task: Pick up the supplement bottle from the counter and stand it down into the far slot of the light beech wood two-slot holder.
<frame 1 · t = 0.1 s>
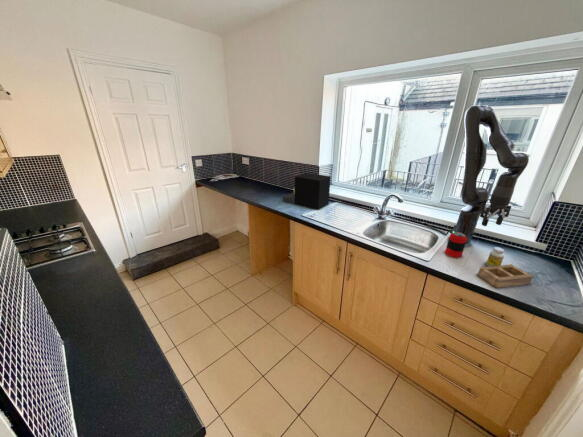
hand: (490, 225, 124), 17 cm above the counter, tool pointing down, fingers open, 8 cm apart
black squarish block: (305, 203, 207), on the counter
holder: (502, 279, 111), on the counter
supplement bottle: (492, 266, 121), on the counter
soda can: (452, 254, 131), on the counter
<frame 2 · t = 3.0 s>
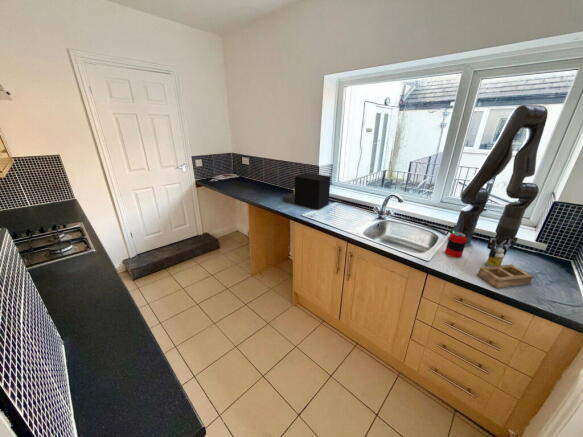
hand: (496, 256, 118), 5 cm above the counter, tool pointing down, fingers closed on supplement bottle, 5 cm apart
supplement bottle: (492, 266, 121), on the counter, touching gripper
everything else where it was.
when the fingers open (6 cm above the counter, at t = 10.5 s): supplement bottle stays where it is, resting in holder.
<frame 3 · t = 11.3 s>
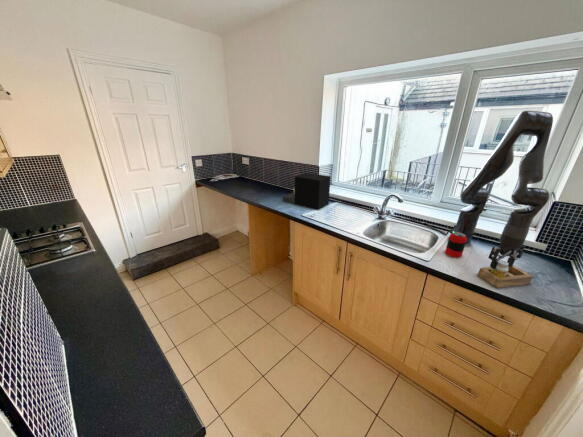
hand: (500, 266, 107), 7 cm above the counter, tool pointing down, fingers open, 8 cm apart
supplement bottle: (495, 280, 110), resting in holder
everything else where it was.
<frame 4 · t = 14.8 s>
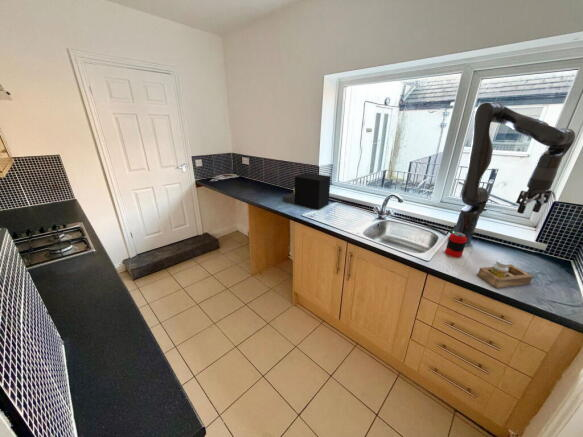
hand: (527, 212, 111), 28 cm above the counter, tool pointing down, fingers open, 8 cm apart
nothing on the counter moved.
at the end: supplement bottle 0.1 cm from the target spot in the holder, point 0.0 cm above the holder's base; supplement bottle tilted 0°; the gripper is holding nothing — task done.
